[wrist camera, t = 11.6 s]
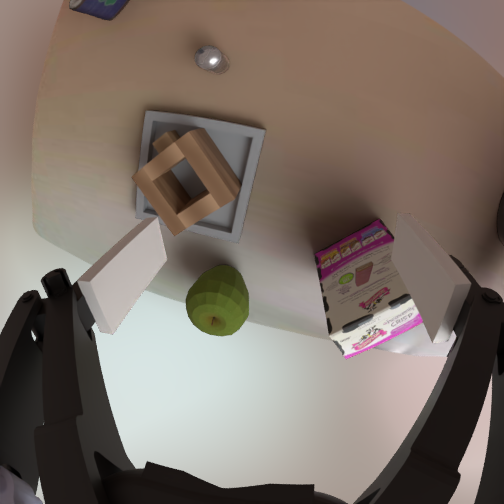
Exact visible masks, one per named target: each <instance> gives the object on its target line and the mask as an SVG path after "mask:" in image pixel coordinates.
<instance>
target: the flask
mask: <svg viewBox="0 0 504 504" xmlns="http://www.w3.org/2000/svg"><path fill="white" fill-rule="evenodd" d="M128 1H129V0H70V4H69V8H70V9H72V10H73V11H78V12H81V13H85V14H88V15H92V16H95V17H97V18H101V19H104V20H109V21H110V20H113V19H114V18H115V17H116V16H117V15H118V14H119V13H120V12H121V11H122V10H123V8H124V7H125V6H126V4H127V3H128Z"/></svg>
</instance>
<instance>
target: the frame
mask: <svg viewBox="0 0 504 504" xmlns="http://www.w3.org/2000/svg"><path fill="white" fill-rule="evenodd" d="M152 144H153V146H154V147H155V149H156V150H157V151H158V153H159V155H157V156H156V157H155V158H154V159H152V160H151V161H150V162H149V163H147V164H146V165H145V166H144V167H143V168H141V169H140V170H139V171H138V172H137V173H135V174H134V175H133V176H132V179H133V180H134V181H135V183H136V184H137V186H138V187H139V189H140V190H141V191H142V193H143V194H144V196H145V197H146V198H147V200H148V201H149V203H150V204H151V205H152V207H153V208H154V209H155V211H156V212H157V213H158V215H159V216H160V218H161V219H162V220H163V222H164V223H165V224H166V226H167V227H168V228H169V230H170V231H171V232H172V234H173V235H174V236H175V235H177V234H179V233H180V232H182V231H183V230H185V229H187V228H188V227H190V226H191V225H193V224H195V223H196V222H198V221H199V220H201V219H203V218H204V217H206V216H208V215H209V214H211V213H213V212H214V211H216V210H218V209H219V208H221V207H223V206H224V205H226V204H228V203H229V202H231V201H233V200H234V199H235V198H236V196H237V194H238V192H239V190H240V188H241V186H242V183H241V182H240V180H239V179H238V177H237V176H236V174H235V173H234V171H233V170H232V168H231V167H230V165H229V164H228V162H227V161H226V159H225V158H224V156H223V155H222V153H221V152H220V150H219V149H218V147H217V146H216V144H215V143H214V142H213V140H212V139H211V137H210V136H209V134H208V133H207V131H206V130H205V128H200V129H196V130H192V131H189V132H187V133H186V134H185V135H183V136H182V137H180V136H179V135H178V133H177V132H176V130H173V131H169V132H166V133H165V134H163V135H162V136H161V137H160V138H158V139H157V140H156V141H155V142H153V143H152ZM184 159H187V161H188V162H189V164H190V165H191V166H192V168H193V169H194V171H195V172H196V174H197V175H198V177H199V178H200V179H201V181H202V182H203V184H204V185H205V187H206V188H207V189H206V190H204V191H203V192H201V193H200V194H198V195H197V196H195V197H194V198H192V199H191V197H190V196H189V194H188V193H187V192H186V190H185V189H184V187H183V186H182V185H181V183H180V182H179V180H178V179H177V177H176V176H175V175H174V173H173V172H172V170H171V169H172V168H173V167H175V166H176V165H177V164H179V163H180V162H182V161H183V160H184Z"/></svg>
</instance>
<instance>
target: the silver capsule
mask: <svg viewBox="0 0 504 504" xmlns="http://www.w3.org/2000/svg"><path fill="white" fill-rule="evenodd" d="M195 62H196V64H197V65H198V66H199V67H201V68H203V69H205V70H207V71H209V72H211V73H213V74H222V73H224V72H226V71H227V70H228V68H229V65H230V62H229V59H228V58H227V57H226V56H225V55H224V54H223V53H222V52H220V51H219V50H218V49H217V48H216V47H214V46H204V47H202V48H200V49H199V50H198V51H197V52H196V54H195Z"/></svg>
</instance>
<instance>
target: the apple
mask: <svg viewBox="0 0 504 504" xmlns="http://www.w3.org/2000/svg"><path fill="white" fill-rule="evenodd" d="M186 310H187V313H188V317H189V318H190V320H191V322H192V323H193V325H195V326H196V327H197V328H198V329H200V330H201V331H202V332H205V333H207V334H210V335H216V336H226V335H232V334H233V333H235V332H236V331H237V330H239V329H240V327H241V326H242V325H243V323H244V322H245V320H246V319H247V317H248V315H249V293H248V290H247V288H246V285H245V282H244V280H243V278H242V275H241V273H239V272H238V271H237V270H236V269H235V268H232V267H230V266H228V265H218V266H216V267H214V268H212V269H210V270H208V271H206V272H204V273H203V274H202V275H201V276H200V277H199V278H198V280H197V281H196V282H195V283H194V284H193V286H192V287H191V288H190V289H189V291H188V294H187V297H186Z"/></svg>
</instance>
